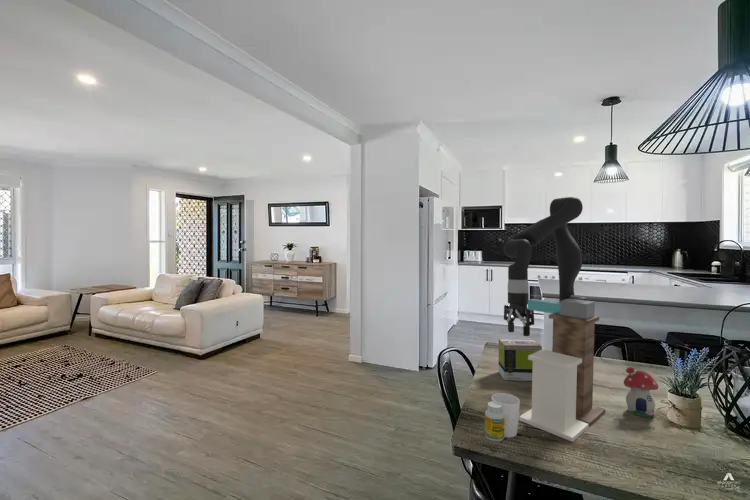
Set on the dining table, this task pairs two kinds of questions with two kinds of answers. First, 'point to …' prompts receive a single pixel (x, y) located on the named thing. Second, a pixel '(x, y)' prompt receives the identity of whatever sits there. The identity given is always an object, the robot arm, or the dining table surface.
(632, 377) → the decorative ornament
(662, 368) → the dining table surface
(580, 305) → the bar
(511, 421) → the white cup
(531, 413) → the low cream stand
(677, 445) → the dining table surface
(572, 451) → the dining table surface
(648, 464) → the dining table surface
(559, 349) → the tall walnut stand
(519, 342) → the tea box
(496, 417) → the supplement bottle
